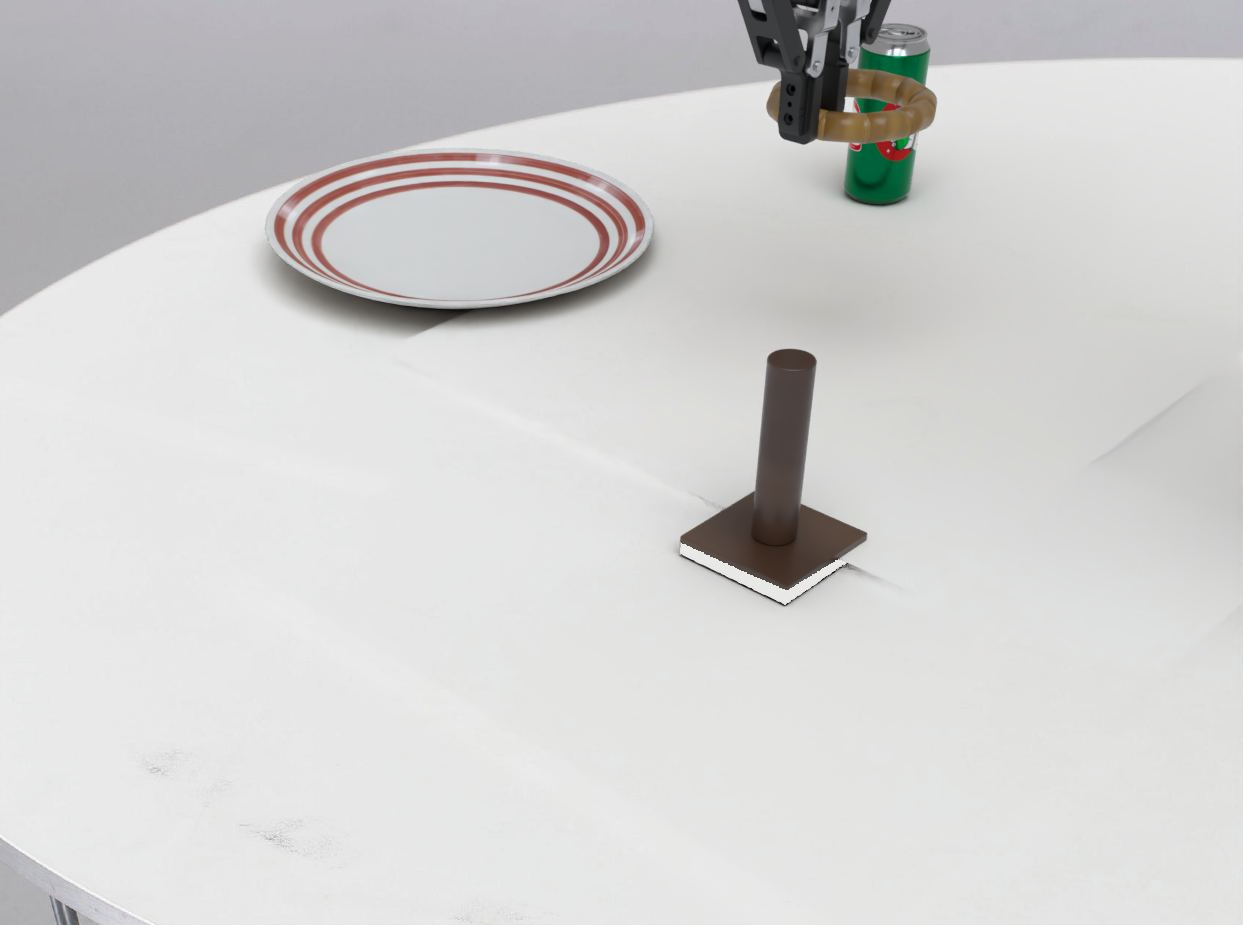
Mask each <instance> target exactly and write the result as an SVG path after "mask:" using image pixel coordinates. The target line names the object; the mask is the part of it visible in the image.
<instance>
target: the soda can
mask: <svg viewBox="0 0 1243 925" xmlns="http://www.w3.org/2000/svg"><path fill="white" fill-rule="evenodd" d="M928 36H929V34H928V31H927V30H926V29H924V28H923V27H921V26H918V25H913V24H908V23H900V22H899V23H898V22H889V23H882V26H881V28H880V31H879V33H878V36H877V38H876V40H875V42H874V43H873V44H871V45H868V44H864V43H863V44H862V45H861V46H860V47H859V52H858V58H857V68H856V69H868V70H880V71H884V72H888V73H892V74H897V75H901V76H905V77H909V78H912V79H914V80H916V81H917V82H919V83H920V84H922V85H923V86H925V87H926V85H927V77H928V70H929V64H930V57H931V48H932V47H931V46H930V44H929V42H928V39H927V38H928ZM852 102H853V103H852V110H851V112H854V113H872V112H881V111H890V110H897V109H899V108H902V107H901V106H899V105H895V104H891V103H887V102H883V101H879V100H876V99H868V98H853V101H852ZM919 133H920V131H919V132H917V133H915V134H913V135H910V136H908V137H906V138H904V139H900V140H892V141H883V142H875V143H866V144H860V143H847V144H848V145H847V153H846V160H845V161H846V162H845V171H844V178H843V179H844V180H843V189H844V190H845V192H846V193H847V195H848V196H849V197H850V198H851V199H852V200H855V201H857V202H860V203H862V204H863V203H864V204H866V205H867V204H869V205H880V204H882V205H890V204H894V203H895V204H896V203H899V202H900V201H902V200H903V199H904V198H905V197H907V195H909V193H910V192H911V189H912V183H913V175H914V169H915V168H914V167H915V161H916V154H917V147H918V141H919Z"/></svg>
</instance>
